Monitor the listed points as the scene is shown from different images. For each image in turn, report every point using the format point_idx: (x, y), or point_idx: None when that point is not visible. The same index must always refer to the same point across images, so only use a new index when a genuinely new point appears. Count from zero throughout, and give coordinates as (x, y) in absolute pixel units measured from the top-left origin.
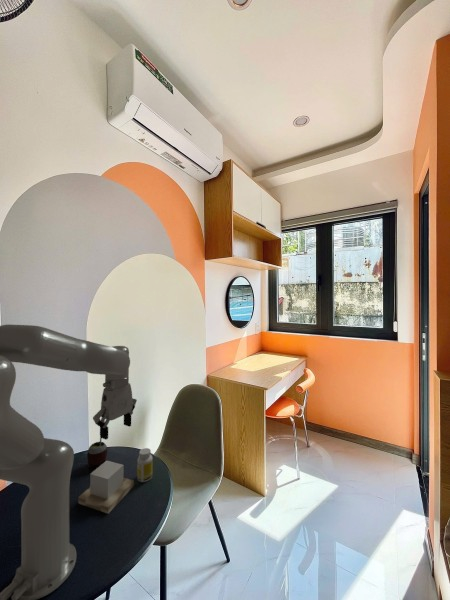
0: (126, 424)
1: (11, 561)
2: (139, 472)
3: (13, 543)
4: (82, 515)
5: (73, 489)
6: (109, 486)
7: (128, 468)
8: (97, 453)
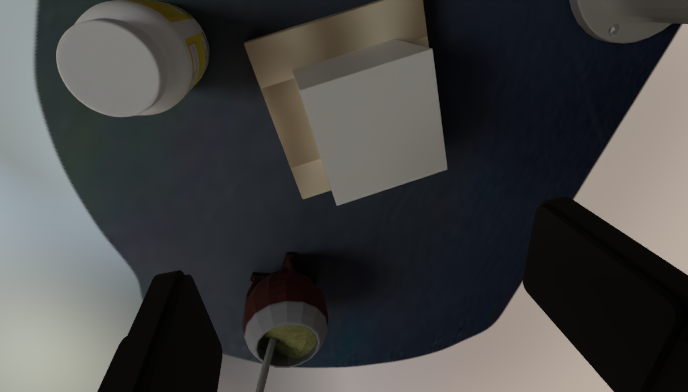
0: (204, 326)
1: (633, 85)
2: (200, 47)
3: (593, 143)
4: (459, 77)
5: (401, 220)
6: (402, 47)
7: (199, 173)
8: (305, 303)
